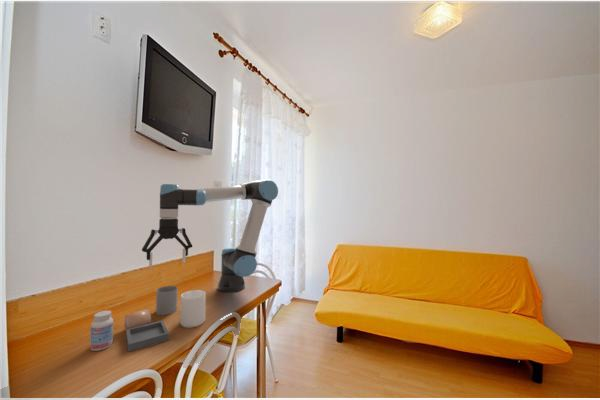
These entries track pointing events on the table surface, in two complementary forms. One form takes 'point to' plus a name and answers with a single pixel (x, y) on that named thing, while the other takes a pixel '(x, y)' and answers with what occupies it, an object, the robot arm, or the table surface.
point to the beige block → (137, 319)
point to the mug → (192, 308)
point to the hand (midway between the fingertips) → (167, 265)
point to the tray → (146, 335)
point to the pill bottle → (101, 331)
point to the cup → (166, 300)
